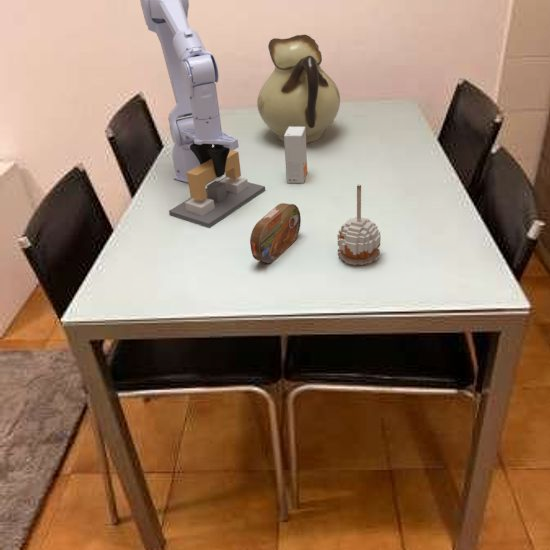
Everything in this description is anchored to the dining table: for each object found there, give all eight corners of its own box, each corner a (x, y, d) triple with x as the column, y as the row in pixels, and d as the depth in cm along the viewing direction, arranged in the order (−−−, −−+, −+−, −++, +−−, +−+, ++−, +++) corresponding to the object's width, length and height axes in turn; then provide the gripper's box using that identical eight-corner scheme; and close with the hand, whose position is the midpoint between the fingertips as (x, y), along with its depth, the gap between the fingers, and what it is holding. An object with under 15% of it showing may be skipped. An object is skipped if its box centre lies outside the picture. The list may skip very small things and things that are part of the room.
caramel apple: (348, 241, 119) (348, 172, 110) (385, 250, 115) (387, 179, 107) (331, 261, 114) (329, 190, 105) (369, 271, 110) (370, 198, 102)
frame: (190, 197, 131) (186, 172, 128) (231, 173, 140) (228, 149, 137) (200, 200, 130) (196, 175, 126) (241, 175, 139) (238, 151, 135)
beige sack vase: (290, 116, 180) (284, 29, 166) (359, 129, 168) (359, 36, 154) (244, 143, 166) (234, 50, 152) (316, 159, 154) (312, 60, 139)
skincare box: (304, 183, 142) (301, 135, 135) (286, 183, 143) (283, 135, 136) (308, 172, 147) (305, 126, 140) (290, 172, 148) (287, 126, 141)
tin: (263, 271, 113) (259, 232, 108) (249, 267, 114) (245, 229, 109) (303, 234, 123) (301, 197, 118) (289, 231, 124) (287, 194, 120)
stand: (169, 214, 134) (166, 196, 131) (226, 180, 147) (224, 163, 144) (209, 227, 128) (206, 209, 125) (265, 190, 141) (263, 172, 138)
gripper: (168, 116, 127) (178, 174, 134) (219, 126, 119) (227, 187, 127) (190, 105, 131) (199, 163, 139) (241, 115, 124) (248, 175, 131)
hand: (214, 174), depth 133 cm, fingers closed on frame, 3 cm apart
